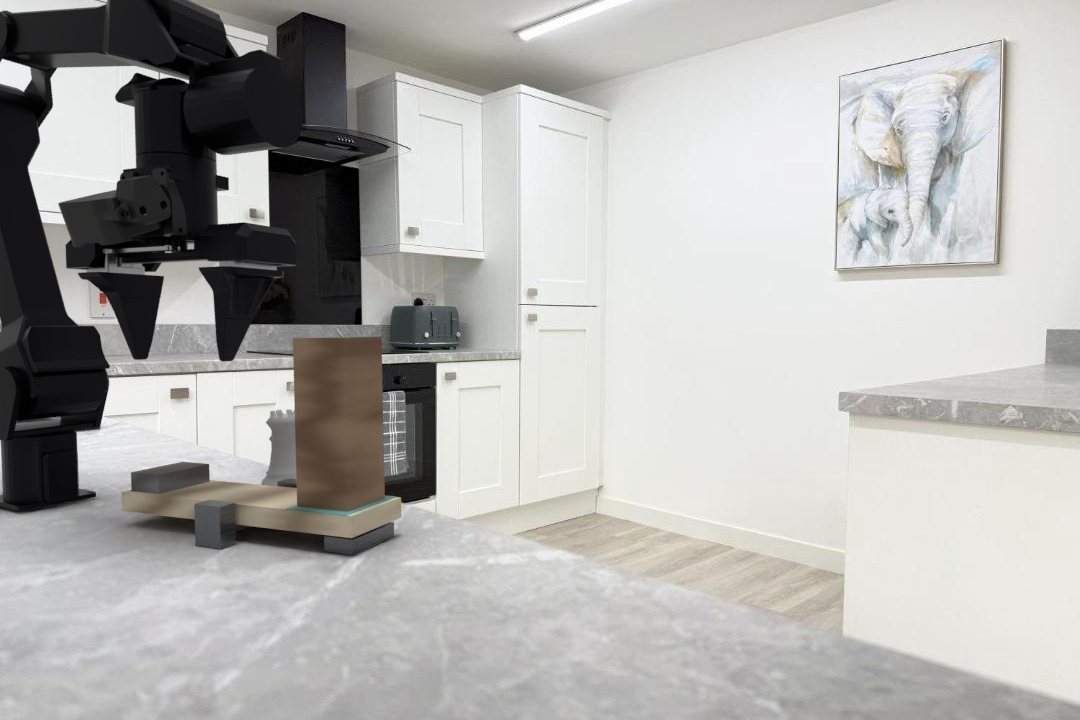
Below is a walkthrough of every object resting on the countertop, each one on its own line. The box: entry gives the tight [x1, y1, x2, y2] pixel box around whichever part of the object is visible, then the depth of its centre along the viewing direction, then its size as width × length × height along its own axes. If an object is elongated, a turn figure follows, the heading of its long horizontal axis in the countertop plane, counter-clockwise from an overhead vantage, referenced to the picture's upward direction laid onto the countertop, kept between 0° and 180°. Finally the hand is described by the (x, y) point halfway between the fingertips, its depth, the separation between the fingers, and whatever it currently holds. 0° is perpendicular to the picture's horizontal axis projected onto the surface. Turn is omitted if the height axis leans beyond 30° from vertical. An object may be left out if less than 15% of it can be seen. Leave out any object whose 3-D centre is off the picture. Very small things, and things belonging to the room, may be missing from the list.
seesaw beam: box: [120, 461, 402, 538], centre depth 59 cm, size 22×6×4 cm, turn 67°
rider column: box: [292, 336, 386, 512], centre depth 55 cm, size 4×4×12 cm
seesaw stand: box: [194, 478, 395, 556], centre depth 57 cm, size 12×10×3 cm
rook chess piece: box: [260, 409, 296, 486], centre depth 69 cm, size 4×4×8 cm
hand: (182, 360), depth 60 cm, fingers open, 9 cm apart
